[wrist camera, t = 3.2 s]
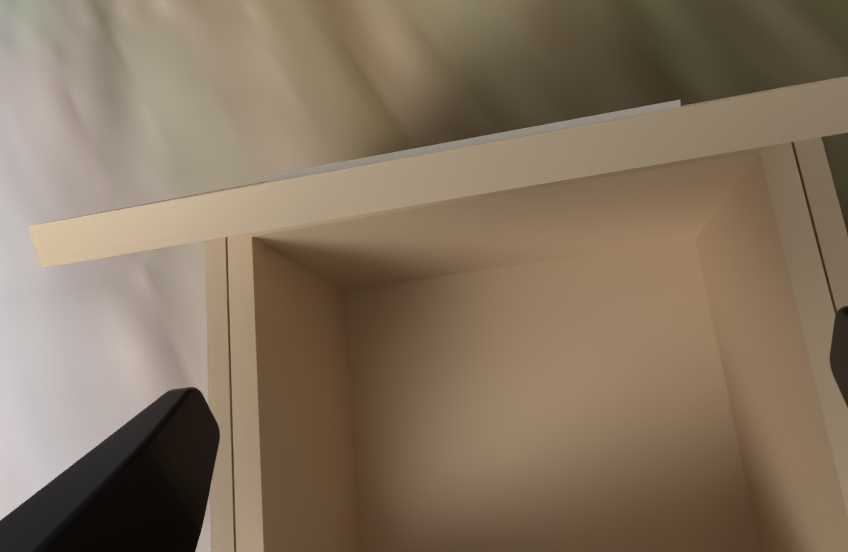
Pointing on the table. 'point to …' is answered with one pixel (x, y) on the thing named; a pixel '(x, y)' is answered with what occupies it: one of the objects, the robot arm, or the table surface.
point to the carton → (541, 368)
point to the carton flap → (458, 170)
